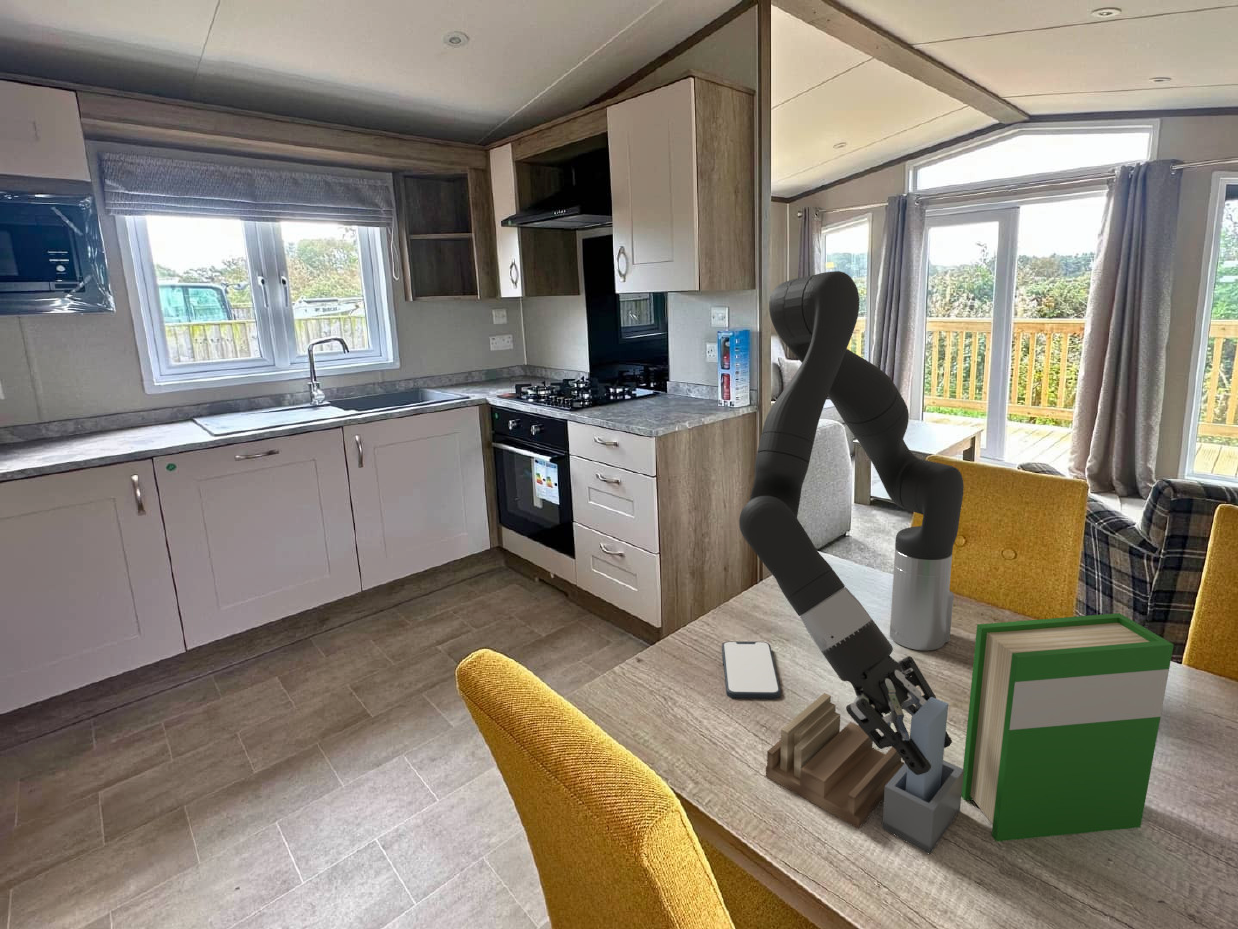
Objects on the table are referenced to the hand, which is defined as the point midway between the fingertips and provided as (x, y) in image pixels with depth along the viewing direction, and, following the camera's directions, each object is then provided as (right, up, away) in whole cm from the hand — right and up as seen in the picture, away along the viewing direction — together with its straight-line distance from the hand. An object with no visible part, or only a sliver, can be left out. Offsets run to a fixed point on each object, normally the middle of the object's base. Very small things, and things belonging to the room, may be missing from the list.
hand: (934, 758), depth 78 cm
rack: (-8, -7, +11) cm, 15 cm away
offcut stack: (-11, -5, +13) cm, 18 cm away
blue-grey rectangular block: (0, -6, +2) cm, 6 cm away
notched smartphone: (-15, -1, +36) cm, 39 cm away
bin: (0, -9, +3) cm, 9 cm away
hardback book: (+15, -8, +4) cm, 18 cm away
